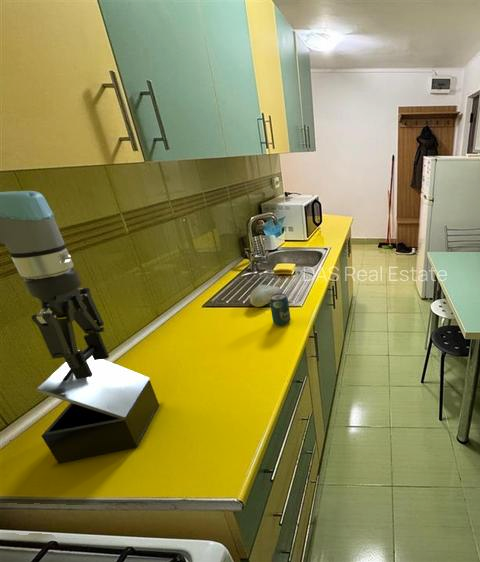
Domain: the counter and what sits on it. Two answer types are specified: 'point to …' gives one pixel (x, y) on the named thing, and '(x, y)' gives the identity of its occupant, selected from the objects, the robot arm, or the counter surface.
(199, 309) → the counter surface
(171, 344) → the counter surface
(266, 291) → the rock
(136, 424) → the black hollow box
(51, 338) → the robot arm
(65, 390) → the lid
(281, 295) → the soda can
